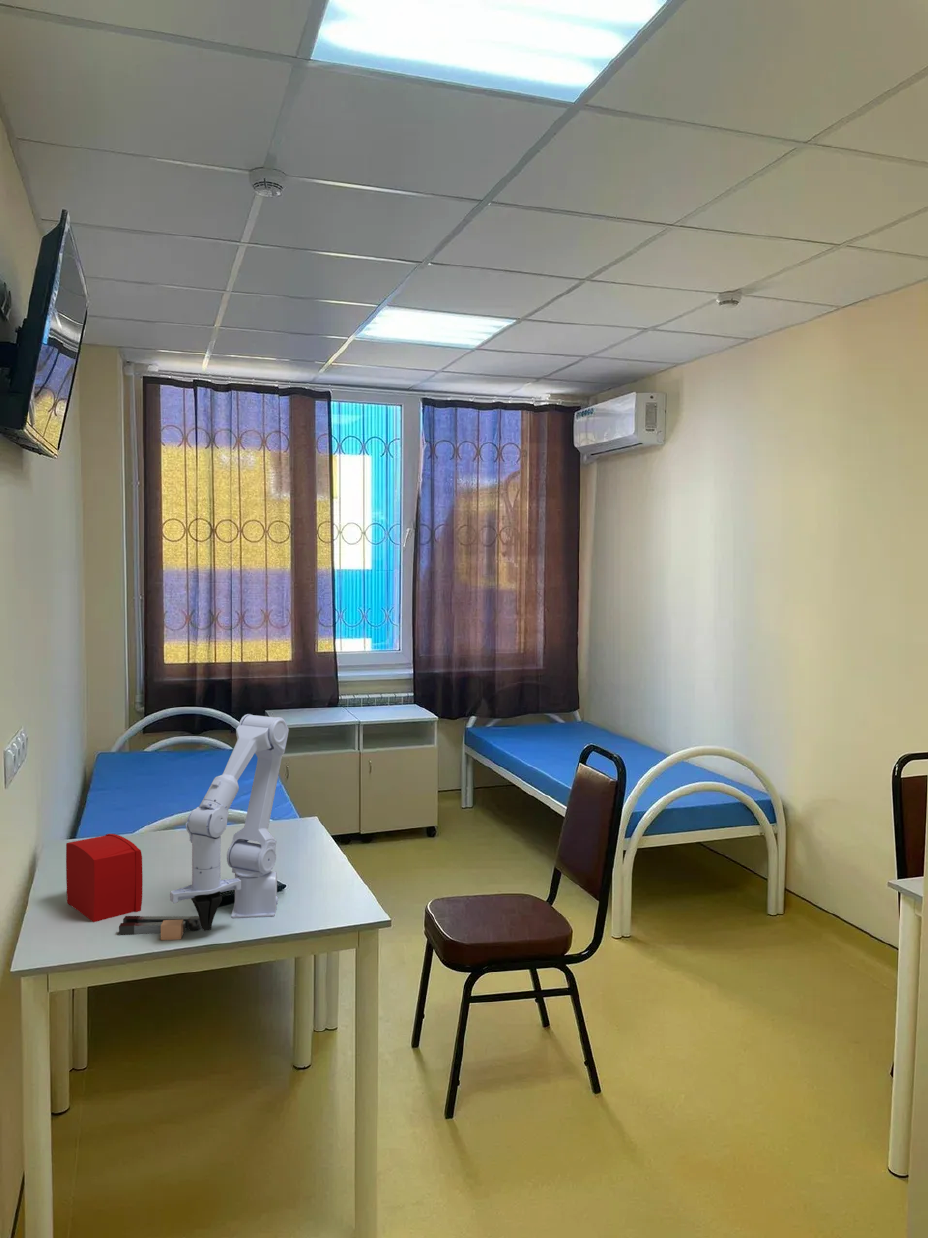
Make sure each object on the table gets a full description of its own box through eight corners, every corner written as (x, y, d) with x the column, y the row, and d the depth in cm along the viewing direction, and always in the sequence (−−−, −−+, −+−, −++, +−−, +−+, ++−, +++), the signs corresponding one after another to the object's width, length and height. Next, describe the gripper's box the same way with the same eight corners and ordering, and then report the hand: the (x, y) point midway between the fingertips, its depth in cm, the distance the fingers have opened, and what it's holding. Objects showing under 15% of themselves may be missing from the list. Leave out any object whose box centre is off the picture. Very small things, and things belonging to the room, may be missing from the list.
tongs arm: (202, 925, 191) (202, 915, 191) (199, 931, 188) (199, 920, 188) (125, 925, 190) (125, 915, 190) (121, 931, 187) (121, 921, 187)
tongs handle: (185, 930, 189) (185, 920, 189) (184, 933, 187) (184, 923, 187) (120, 932, 187) (120, 923, 187) (119, 936, 185) (119, 926, 185)
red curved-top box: (143, 911, 199) (142, 845, 198) (94, 924, 192) (94, 855, 191) (112, 891, 211) (112, 829, 210) (66, 903, 203) (65, 838, 202)
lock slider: (183, 933, 187) (183, 919, 187) (180, 939, 184) (180, 925, 184) (163, 934, 186) (163, 920, 186) (160, 940, 183) (160, 926, 183)
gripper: (232, 854, 193) (232, 915, 194) (165, 866, 184) (165, 930, 185) (245, 862, 187) (244, 926, 188) (176, 875, 179) (176, 942, 179)
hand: (206, 928), depth 186 cm, fingers closed
